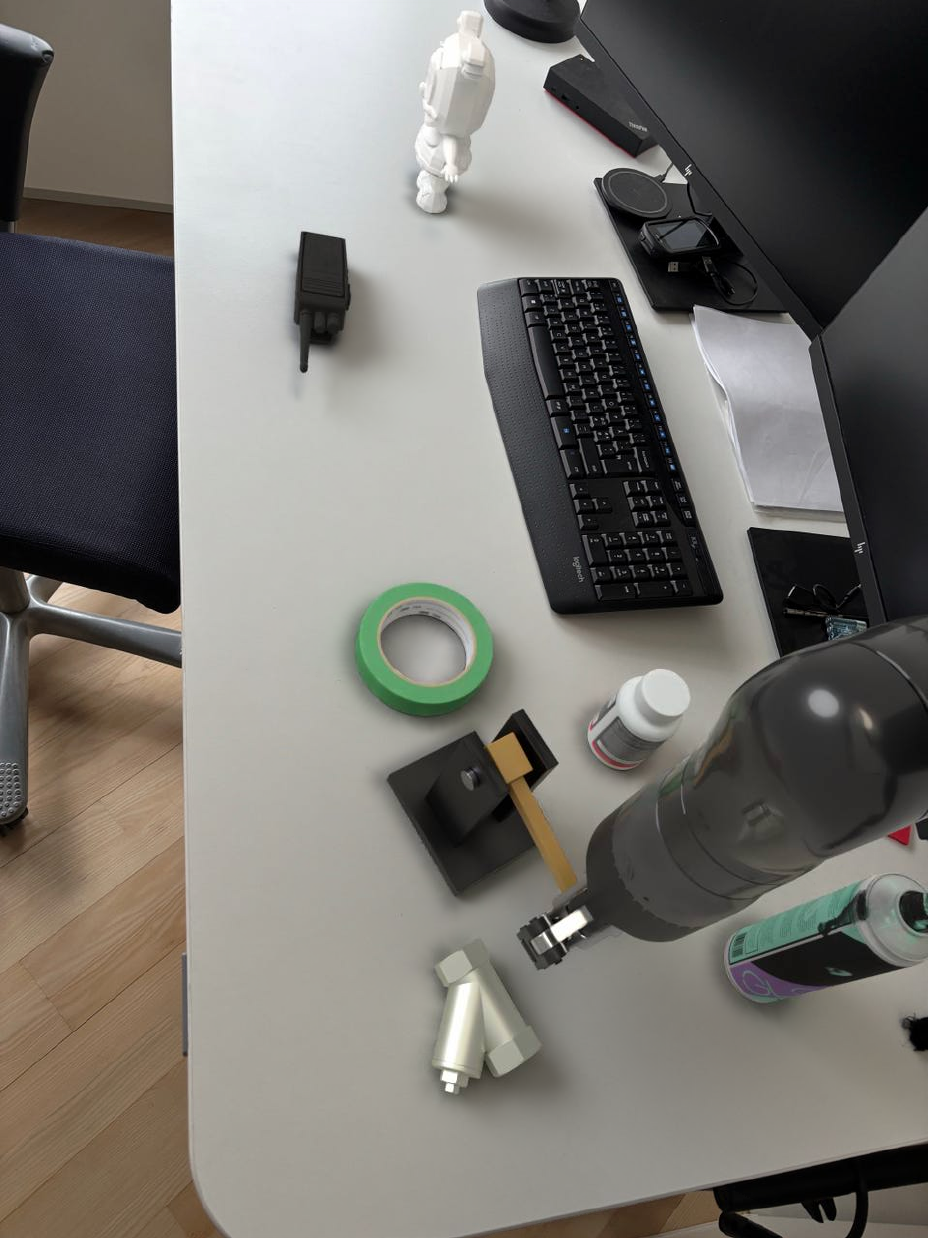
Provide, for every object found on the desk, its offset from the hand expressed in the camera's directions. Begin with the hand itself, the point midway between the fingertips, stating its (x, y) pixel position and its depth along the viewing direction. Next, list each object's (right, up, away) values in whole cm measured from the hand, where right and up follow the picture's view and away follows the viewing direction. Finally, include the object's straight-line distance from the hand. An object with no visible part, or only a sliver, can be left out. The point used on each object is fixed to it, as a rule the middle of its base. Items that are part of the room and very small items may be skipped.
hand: (571, 921), depth 61 cm
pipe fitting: (-8, -8, +2) cm, 11 cm away
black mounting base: (-7, +5, +9) cm, 13 cm away
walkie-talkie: (-22, +49, +30) cm, 62 cm away
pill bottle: (+5, +10, +15) cm, 19 cm away
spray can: (+15, -6, +9) cm, 19 cm away
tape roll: (-11, +17, +15) cm, 25 cm away
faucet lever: (-3, +6, 0) cm, 7 cm away
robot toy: (-11, +69, +45) cm, 83 cm away
